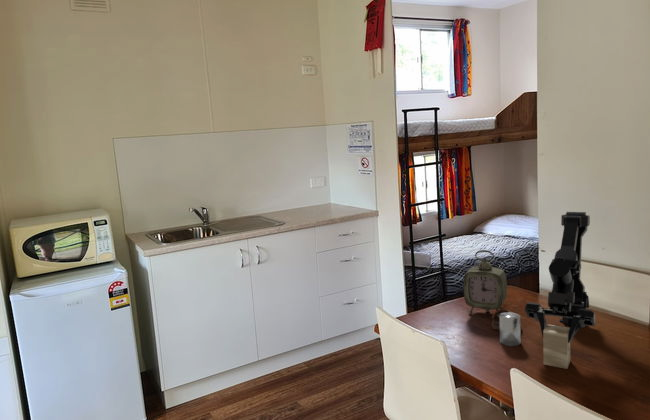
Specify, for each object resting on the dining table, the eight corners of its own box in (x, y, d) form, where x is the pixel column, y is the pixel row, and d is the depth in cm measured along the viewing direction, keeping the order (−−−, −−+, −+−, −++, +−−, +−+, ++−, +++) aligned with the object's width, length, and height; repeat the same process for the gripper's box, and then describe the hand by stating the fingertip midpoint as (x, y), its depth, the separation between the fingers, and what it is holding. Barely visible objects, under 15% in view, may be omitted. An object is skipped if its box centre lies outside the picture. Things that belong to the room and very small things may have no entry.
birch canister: (547, 356, 151) (546, 324, 150) (570, 360, 148) (570, 327, 146) (543, 364, 147) (543, 331, 145) (567, 368, 143) (567, 334, 141)
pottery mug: (528, 334, 169) (518, 317, 166) (502, 345, 171) (492, 329, 168) (516, 313, 180) (507, 297, 177) (492, 324, 182) (482, 308, 179)
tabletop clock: (464, 315, 189) (461, 251, 185) (470, 307, 196) (468, 246, 192) (503, 320, 181) (502, 254, 177) (508, 311, 189) (507, 248, 185)
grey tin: (511, 336, 167) (511, 310, 166) (524, 343, 161) (524, 317, 160) (495, 339, 165) (495, 314, 164) (508, 347, 159) (508, 321, 158)
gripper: (525, 277, 152) (517, 324, 145) (594, 283, 141) (589, 334, 134) (531, 293, 159) (524, 339, 152) (597, 301, 149) (592, 350, 142)
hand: (555, 340), depth 145 cm, fingers closed on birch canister, 6 cm apart
